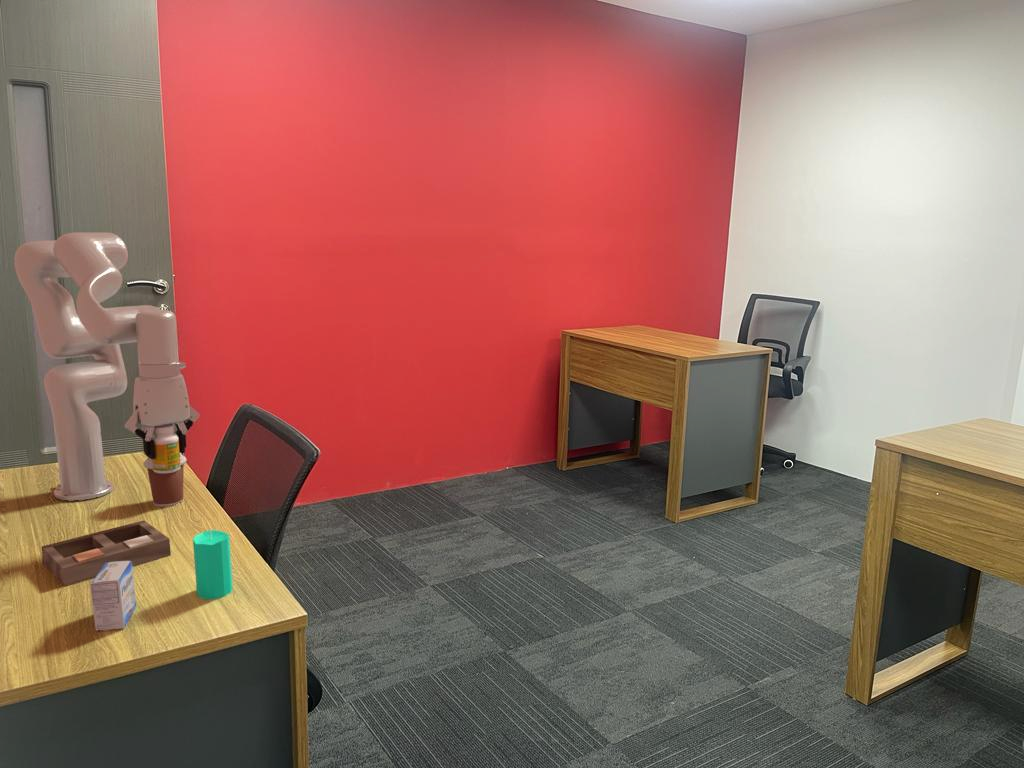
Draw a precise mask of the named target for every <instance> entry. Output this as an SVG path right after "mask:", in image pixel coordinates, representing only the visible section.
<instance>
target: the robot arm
mask: <svg viewBox="0 0 1024 768" xmlns="http://www.w3.org/2000/svg"><path fill="white" fill-rule="evenodd" d="M128 258H129V254H128V248H127V245H126V244H125V241H124V240H123V239H122V238H121V237H120V236H118V235H117V234H115V233H113V232H107V231H106V232H103V231H102V232H98V231H97V232H92V231H91V232H86V231H85V232H84V231H83V232H82V231H81V232H80V231H78V232H76V231H75V232H69V233H65V234H63V235H61V236H59V237H58V238H57V239H56V240H51V239H50V240H48V239H47V240H36V241H34V240H33V241H28V242H25V243H23V244H22V245H20V246H18V248H17V249H16V251H15V254H14V268H15V272H16V273H15V274H16V276H17V278H18V281H19V283H20V285H21V287H22V288H23V290H24V292H25V293H26V295H27V297H28V299H29V302H30V304H31V308H32V312H33V316H34V319H35V324H36V327H37V332H38V335H39V341H40V343H41V346H42V349H43V351H44V353H45V354H46V355H47V357H49V358H51V359H55V360H57V359H59V360H60V359H61V360H62V359H71V358H80V357H86V356H87V357H88V356H93V358H94V360H88V361H80V362H79V361H78V362H71V363H66V364H60V365H57V366H54V367H53V368H52V367H51V369H49V370H48V371H47V372H46V374H45V376H44V378H43V387H44V390H45V394H46V397H47V399H48V403H49V406H50V410H51V415H52V422H53V430H54V431H53V432H54V440H55V447H56V456H57V465H58V466H57V467H58V476H59V484H60V486H58V487H57V488H56V489H54V491H53V496H55V497H56V498H55V497H54V498H55V499H57V498H58V499H57V500H59V499H61V500H60V501H64V500H68V501H67V502H75V501H74V500H79V501H85V500H86V499H87V500H91V499H96V497H97V498H100V497H103V496H105V495H107V494H109V493H111V492H112V491H113V490H114V483H113V482H112V481H110V480H107V479H106V472H105V471H106V470H105V462H104V451H103V440H102V432H101V422H100V419H99V416H98V415H97V414H96V413H95V411H93V409H91V408H90V407H89V406H88V403H91V402H94V401H100V400H106V399H110V398H116V397H119V396H121V395H123V394H124V393H125V392H126V389H127V387H128V377H127V376H128V375H127V372H126V371H127V370H126V367H125V361H124V359H123V354H122V350H121V345H123V344H131V343H136V344H137V345H136V347H137V359H138V371H139V377H135V379H134V385H133V398H132V399H133V400H132V405H133V407H132V414H131V416H130V417H129V418H128V419H127V421H126V423H124V426H123V427H124V428H125V429H126V430H128V431H130V432H132V433H133V434H135V435H136V436H138V437H139V438H141V440H142V447H143V454H144V455H145V456H146V457H147V458H150V459H155V458H156V457H155V444H154V441H153V440H152V436H153V435H154V432H153V430H154V427H155V426H161V425H167V424H174V428H175V429H176V432H175V431H174V432H175V433H174V434H176V435H178V437H179V449H180V453H181V454H185V453H186V448H187V439H186V437H187V436H186V435H187V434H188V432H189V430H190V428H191V427H193V425H194V423H195V422H196V421H197V420H198V419H199V418H200V417H201V414H200V413H199V412H198V411H197V410H196V409H195V408H194V407H192V406H191V404H190V402H189V394H188V389H187V386H186V381H185V378H184V375H183V374H181V372H182V371H181V370H183V369H186V367H187V364H186V362H185V361H181V360H179V359H180V358H179V346H178V345H179V344H178V329H177V327H178V326H177V318H176V315H175V313H174V312H173V311H171V310H168V309H160V308H159V307H156V306H154V305H150V304H144V305H143V304H141V305H126V306H117V307H116V306H115V307H103V306H102V305H101V303H103V302H104V301H106V300H108V299H110V298H111V297H113V296H115V294H117V292H118V291H119V290H120V289H121V287H122V284H123V275H122V272H121V271H120V270H121V269H123V268H125V266H126V264H127V263H128ZM55 278H58V279H59V278H71V279H72V281H74V283H75V284H76V285H77V286H78V288H79V290H78V293H77V295H76V300H75V301H76V302H75V301H74V298H73V296H72V295H71V293H70V292H69V291H68V290H67V289H66V288H65V287H64V286H62V285H61V284H60V283H59V282H58V281H56V280H55ZM75 303H76V304H75ZM137 424H141V426H142V427H141V429H140V428H139V427H137V426H136V425H137Z"/></svg>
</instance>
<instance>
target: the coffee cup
mask: <svg viewBox="0 0 1024 768" xmlns="http://www.w3.org/2000/svg"><path fill="white" fill-rule="evenodd" d="M186 463H187V457H186V456H185V455H183V453H180V464H181V467H180V469H179V470H178V471H176V472H172V473H156V472H154V471H153V465H152V459H150V458H148V457H147V458H146V459H144V462H143V467H144V468H145V469H147V474H148V480H149V485H150V490H151V497H152V503H153V505H154V506H155V505H156V506H155V507H158V506H159V508H160V507H161V508H167V507H166V506H170V507H173V506H172V505H175V506H177V505H176V504H178V503H180V502H181V501H183V502H184V471H185V470H184V469H185V468H184V467H185V464H186ZM180 504H181V503H180ZM178 505H179V504H178Z"/></svg>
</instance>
